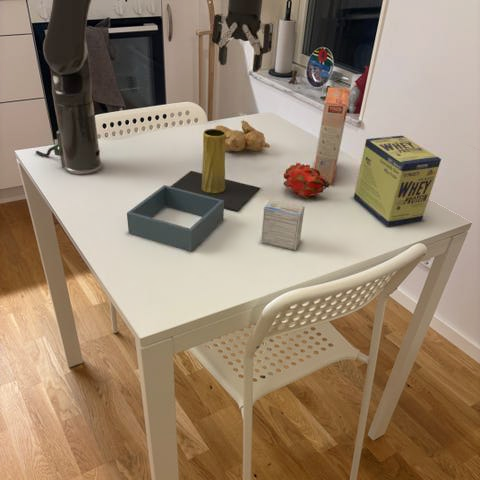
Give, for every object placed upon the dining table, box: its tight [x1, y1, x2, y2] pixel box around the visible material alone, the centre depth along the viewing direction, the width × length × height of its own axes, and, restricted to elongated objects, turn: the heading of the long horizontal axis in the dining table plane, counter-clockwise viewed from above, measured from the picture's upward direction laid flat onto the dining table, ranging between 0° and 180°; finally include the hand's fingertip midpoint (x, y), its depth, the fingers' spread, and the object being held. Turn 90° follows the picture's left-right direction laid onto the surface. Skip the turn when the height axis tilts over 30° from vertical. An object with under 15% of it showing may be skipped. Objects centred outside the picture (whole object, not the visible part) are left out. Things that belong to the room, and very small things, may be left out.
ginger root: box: [214, 120, 271, 153], centre depth 151 cm, size 16×16×8 cm
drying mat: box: [169, 170, 260, 213], centre depth 130 cm, size 20×14×1 cm
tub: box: [126, 184, 225, 252], centre depth 114 cm, size 16×16×5 cm
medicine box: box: [260, 199, 305, 251], centre depth 110 cm, size 8×4×9 cm, turn 71°
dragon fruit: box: [283, 162, 330, 200], centre depth 129 cm, size 8×8×12 cm
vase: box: [201, 128, 226, 194], centre depth 126 cm, size 6×6×14 cm
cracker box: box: [313, 86, 351, 186], centre depth 135 cm, size 14×6×21 cm, turn 168°
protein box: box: [353, 135, 442, 227], centre depth 123 cm, size 10×16×16 cm
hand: (239, 67), depth 124 cm, fingers open, 8 cm apart
